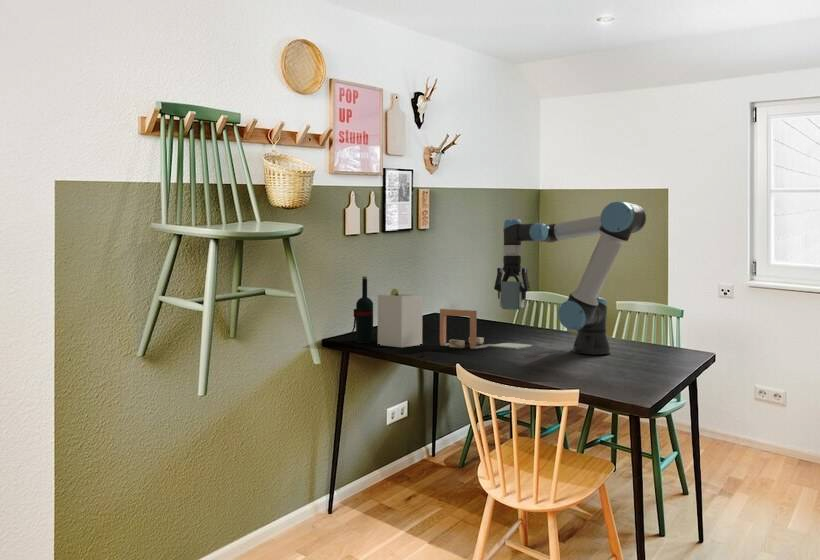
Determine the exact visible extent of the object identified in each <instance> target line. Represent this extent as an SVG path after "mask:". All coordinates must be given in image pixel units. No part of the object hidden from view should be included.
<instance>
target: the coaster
mask: <svg viewBox="0 0 820 560" xmlns="http://www.w3.org/2000/svg"><path fill="white" fill-rule="evenodd" d="M491 347H492V348H501V349H511V350H512V349H514V350H519V349H524V348H530V347H533V344H525V343H517V342H515V343H514V342H503V343H501V342H500V343H496V344H495V345H491V346H490V348H491Z"/></svg>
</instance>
